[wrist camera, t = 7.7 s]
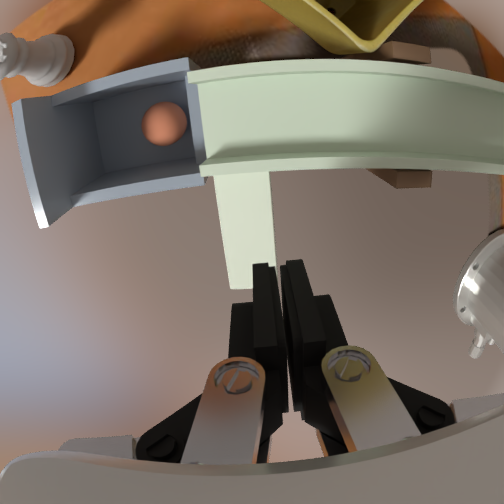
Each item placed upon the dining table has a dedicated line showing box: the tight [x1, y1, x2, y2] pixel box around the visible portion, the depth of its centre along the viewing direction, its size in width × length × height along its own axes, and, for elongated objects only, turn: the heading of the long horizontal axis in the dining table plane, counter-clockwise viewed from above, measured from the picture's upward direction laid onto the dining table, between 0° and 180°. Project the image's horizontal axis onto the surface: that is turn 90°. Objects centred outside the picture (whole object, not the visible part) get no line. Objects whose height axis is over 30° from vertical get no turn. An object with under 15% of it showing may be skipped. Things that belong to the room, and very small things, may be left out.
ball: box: [141, 102, 187, 146], centre depth 19 cm, size 3×3×3 cm
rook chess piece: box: [0, 33, 74, 87], centre depth 14 cm, size 4×4×8 cm
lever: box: [187, 59, 504, 289], centre depth 13 cm, size 11×19×3 cm, turn 96°
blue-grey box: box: [12, 57, 208, 228], centre depth 16 cm, size 7×9×9 cm
